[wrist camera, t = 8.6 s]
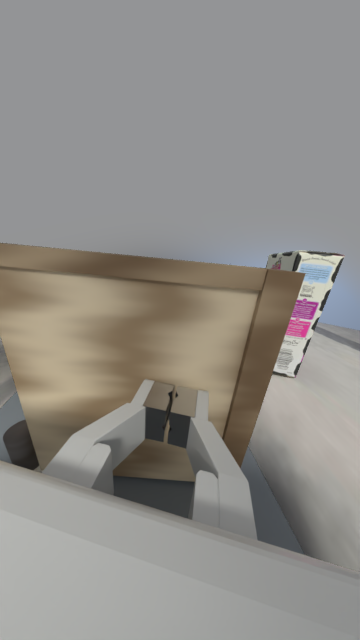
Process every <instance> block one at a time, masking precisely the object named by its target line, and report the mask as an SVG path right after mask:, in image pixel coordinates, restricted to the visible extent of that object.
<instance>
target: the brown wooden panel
mask: <svg viewBox="0 0 360 640" xmlns="http://www.w3.org/2000/svg"><path fill="white" fill-rule="evenodd" d="M305 274H306V273H301V272H294V271H286V270H278V269H267V268H256V267H245V266H235V265H225V264H215V263H204V262H194V261H184V260H173V259H163V258H153V257H142V256H132V255H122V254H121V255H120V254H111V253H101V252H89V251H80V250H69V249H59V248H48V247H37V246H28V245H17V244H7V243H0V336H1V340H2V343H3V346H4V349H5V353H6V356H7V359H8V363H9V366H10V369H11V373H12V376H13V379H14V383H15V386H16V389H17V393H18V396H19V399H20V403H21V406H22V409H23V413H24V416H25V419H26V422H27V426H28V429H29V432H30V436H31V439H32V442H33V446H34V449H35V452H36V456H37V459H38V462H39V466H40V469H41V470H44V469H45V468H46V467H47V465H48V464H49V463H50V462H51V460H52V459H53V458H54V457H55V456H56V454H57V453H58V452H59V451H60V449H61V448H62V447H63V446H64V444H65V443H66V442H67V441H68V440H69V438H70V437H71V436H72V435H73V434H74V433H76V432H78V431H79V430H81V429H83V428H85V427H86V426H88V425H90V424H92V423H93V422H95V421H97V420H98V419H100V418H102V417H104V416H105V415H107V414H109V413H111V412H112V411H114V410H116V409H117V408H119V407H121V406H123V405H124V404H126V403H131V401H132V400H133V398H134V396H135V395H136V393H137V391H138V389H139V388H140V386H141V384H142V383H143V381H144V380H145V379H149V380H153V381H158V382H163V383H167V384H172V385H175V390H174V395H173V399H175V396H176V390H177V387H178V386H181V387H186V388H192V389H197V390H203V391H208V392H209V406H208V421H210V422H212V424H213V425H214V427H215V428H216V430H217V432H218V433H219V435H220V437H221V438H222V440H223V441H224V443H225V445H226V446H227V448H228V450H229V451H230V453H231V454H232V456H233V458H234V459H235V461H236V463H237V464H238V466H239V467H240V468H241V465H242V462H243V459H244V456H245V453H246V450H247V447H248V444H249V441H250V438H251V435H252V432H253V429H254V426H255V424H256V421H257V418H258V415H259V412H260V409H261V406H262V403H263V400H264V397H265V394H266V391H267V388H268V385H269V382H270V379H271V376H272V373H273V370H274V367H275V364H276V361H277V358H278V355H279V352H280V349H281V346H282V343H283V340H284V337H285V334H286V331H287V328H288V325H289V322H290V319H291V316H292V313H293V310H294V307H295V304H296V301H297V298H298V295H299V292H300V289H301V286H302V283H303V280H304V277H305ZM169 427H170V425H169V421H168V427H167V431H166V435H165V439H164V442H159V441H155V440H150V439H146V438H145V440H144V441H143V442H142V443H141V444H140V445H139V446H138V447H137V448H135V449H134V450H133V451H132V452H131V453H130V454H129V455H128V456H127V457H126V458H125V459H124V460H123V461H122V462H121V463H120V464H119V465H118V466H117V467H116V468H115V469H114V470H113V476H125V477H138V478H152V479H165V480H178V481H192V482H195V479H196V478H195V475H194V472H193V469H192V466H191V463H190V460H189V457H188V454H187V451H186V449H185V448H182V447H178V446H175V445H171V444H168V443H167V442H168V431H169Z"/></svg>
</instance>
